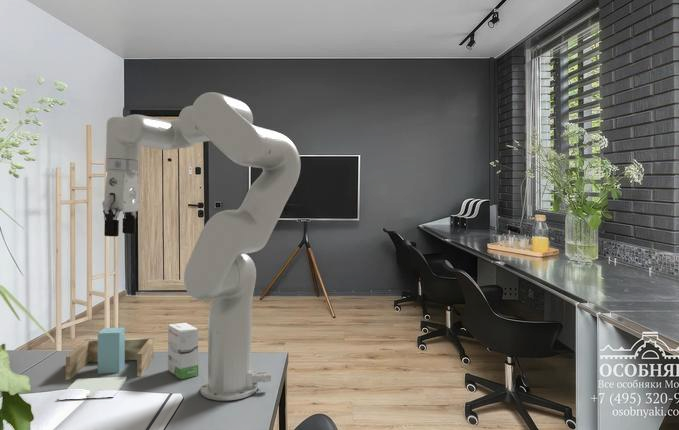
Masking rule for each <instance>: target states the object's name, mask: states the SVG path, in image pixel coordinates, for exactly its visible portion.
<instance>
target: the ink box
mask: <svg viewBox="0 0 679 430" xmlns="http://www.w3.org/2000/svg"><path fill="white" fill-rule="evenodd" d="M167 326H168V327H167V336H168V337H167V342H168V343H167V347H168V348H167V354H168V355H167V363H168V364H167V367H168V368H167V370H168V371H169V372H170V373H172V374H173V375H174V376H175V377H176V378H178V379H179V380H184V379H188V378H193V377H197V376H199V328H197V327H195V326H193V325H191V324H189V323H187V322H181V323H170V324H168V325H167Z"/></svg>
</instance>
